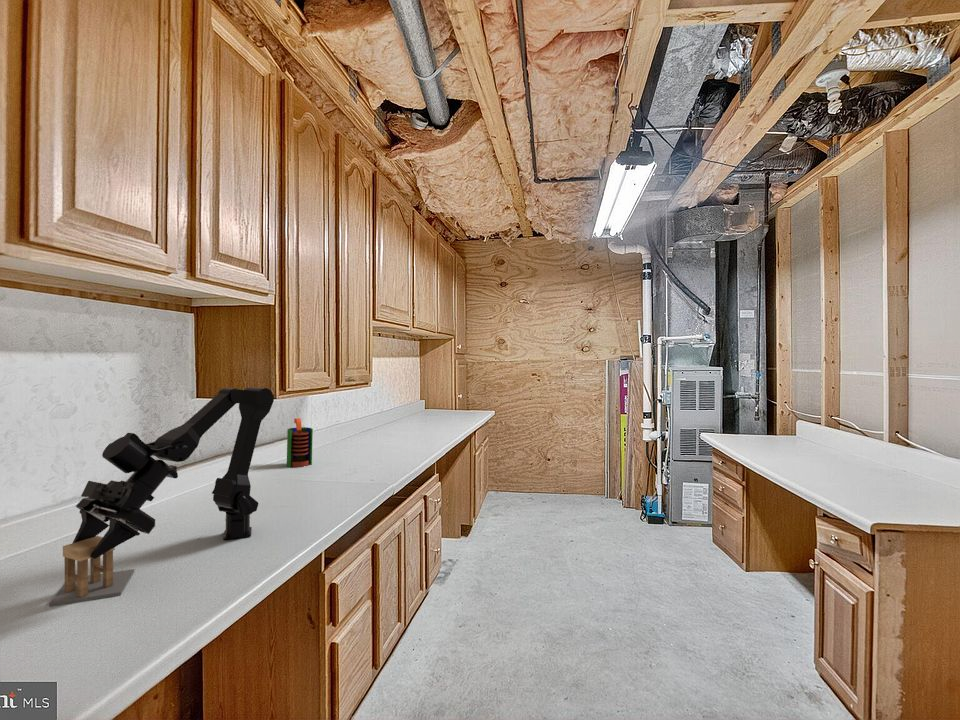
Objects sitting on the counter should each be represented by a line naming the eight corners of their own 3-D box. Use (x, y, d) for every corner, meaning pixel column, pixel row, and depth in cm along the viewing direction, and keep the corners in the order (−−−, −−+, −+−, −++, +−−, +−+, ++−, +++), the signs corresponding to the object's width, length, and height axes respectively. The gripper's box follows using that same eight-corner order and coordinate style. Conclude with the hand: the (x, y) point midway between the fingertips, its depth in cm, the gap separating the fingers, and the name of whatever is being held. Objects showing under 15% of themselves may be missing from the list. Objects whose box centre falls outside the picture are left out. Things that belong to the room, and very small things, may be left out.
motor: (293, 468, 199) (294, 421, 199) (281, 465, 204) (282, 419, 204) (314, 464, 207) (315, 418, 207) (303, 461, 213) (303, 416, 212)
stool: (97, 579, 99) (97, 535, 99) (114, 584, 97) (114, 540, 97) (62, 591, 94) (62, 546, 94) (80, 597, 92) (80, 550, 92)
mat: (70, 580, 100) (70, 577, 100) (134, 571, 104) (134, 569, 104) (49, 606, 90) (49, 603, 90) (120, 595, 94) (120, 592, 94)
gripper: (87, 459, 103) (20, 527, 93) (140, 469, 95) (73, 544, 85) (126, 486, 110) (69, 552, 100) (179, 498, 102) (122, 570, 92)
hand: (81, 554), depth 94 cm, fingers open, 7 cm apart
